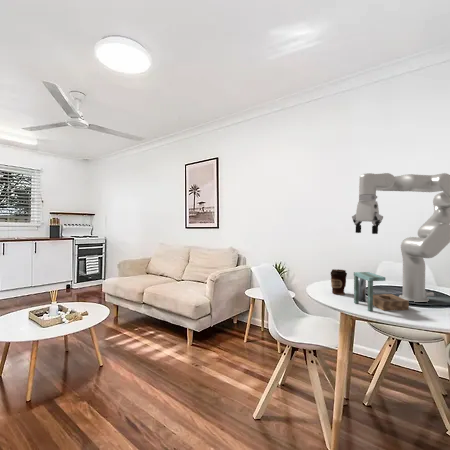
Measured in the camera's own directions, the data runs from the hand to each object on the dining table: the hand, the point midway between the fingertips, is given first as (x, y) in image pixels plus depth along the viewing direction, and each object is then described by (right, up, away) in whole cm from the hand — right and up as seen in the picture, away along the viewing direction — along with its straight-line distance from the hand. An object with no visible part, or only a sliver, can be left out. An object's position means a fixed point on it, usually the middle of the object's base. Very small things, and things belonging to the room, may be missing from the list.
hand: (366, 233), depth 142 cm
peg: (-2, -34, +1) cm, 34 cm away
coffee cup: (-8, -34, +15) cm, 38 cm away
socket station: (+2, -34, -8) cm, 35 cm away
